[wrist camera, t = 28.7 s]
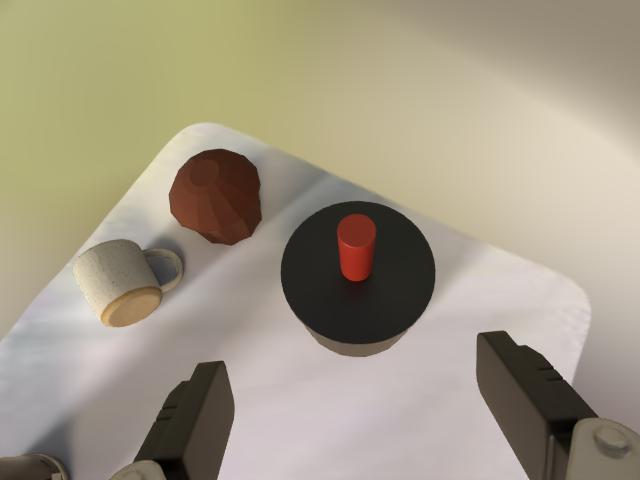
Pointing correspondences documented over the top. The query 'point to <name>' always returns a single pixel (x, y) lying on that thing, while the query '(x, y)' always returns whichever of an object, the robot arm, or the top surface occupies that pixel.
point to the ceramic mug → (122, 281)
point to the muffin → (217, 196)
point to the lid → (358, 273)
